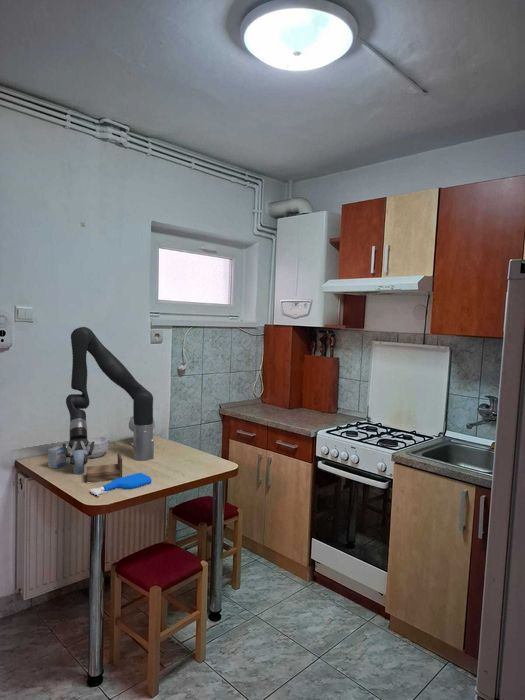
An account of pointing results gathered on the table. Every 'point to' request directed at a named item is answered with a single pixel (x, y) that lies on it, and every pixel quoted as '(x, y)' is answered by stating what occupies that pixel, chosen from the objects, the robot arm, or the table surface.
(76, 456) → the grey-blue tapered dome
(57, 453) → the medicine box
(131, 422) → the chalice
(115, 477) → the shelf step
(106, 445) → the paper bowls
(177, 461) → the table surface
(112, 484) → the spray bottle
